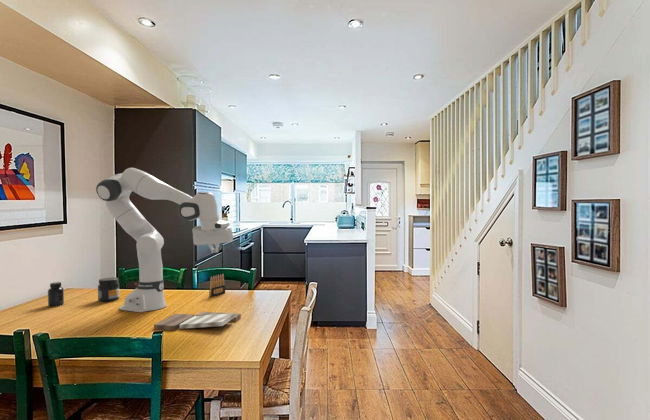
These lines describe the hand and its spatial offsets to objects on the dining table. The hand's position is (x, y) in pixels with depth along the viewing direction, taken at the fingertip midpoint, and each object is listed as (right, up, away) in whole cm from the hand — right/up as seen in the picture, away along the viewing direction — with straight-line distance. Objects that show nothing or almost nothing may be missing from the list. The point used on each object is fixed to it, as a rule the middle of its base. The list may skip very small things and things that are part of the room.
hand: (215, 252), depth 179 cm
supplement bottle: (-90, -30, +17) cm, 96 cm away
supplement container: (-68, -30, +27) cm, 79 cm away
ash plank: (+2, -29, -17) cm, 34 cm away
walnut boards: (-3, -30, -13) cm, 33 cm away
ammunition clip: (-10, -30, +38) cm, 49 cm away
